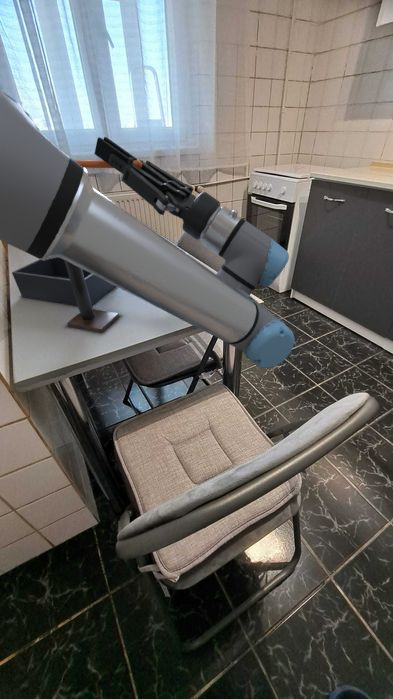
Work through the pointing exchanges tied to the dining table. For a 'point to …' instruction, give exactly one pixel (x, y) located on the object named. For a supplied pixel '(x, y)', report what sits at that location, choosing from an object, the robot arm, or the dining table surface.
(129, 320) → the dining table surface
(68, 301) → the bin
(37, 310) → the dining table surface
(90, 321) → the stand
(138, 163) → the orange rod
